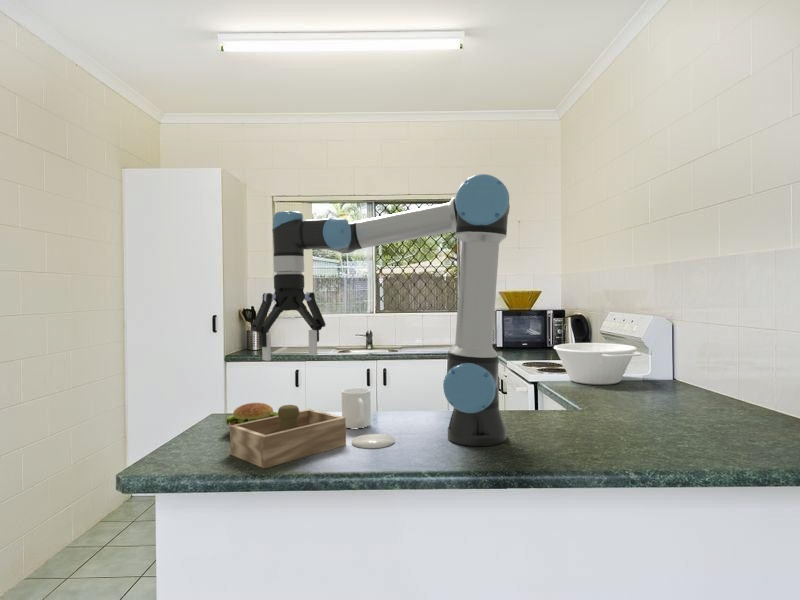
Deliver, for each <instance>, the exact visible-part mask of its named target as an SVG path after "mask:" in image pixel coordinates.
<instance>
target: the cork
mask: <svg viewBox="0 0 800 600" xmlns="http://www.w3.org/2000/svg"><path fill="white" fill-rule="evenodd" d="M299 411H300V408H299V407H298V405H295V404H286V405H281V406H280V407H279V408H278V410H277V413H278V417H279V418H280V428H279V432H281V431H285V430H289V429H293V428H297V427H298V421H297V418H298V416H299Z"/></svg>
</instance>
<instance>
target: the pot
mask: <svg viewBox="0 0 800 600" xmlns="http://www.w3.org/2000/svg"><path fill="white" fill-rule="evenodd" d="M553 349H554V350H555V351H556V353H557V354H558V357H559V360H560V361H561V363H562V365H563V367H564V369H565V371H566V374H567V375H568V378H569V380H571V381H572V382H573V383H577V384H581V385H589V386H590V385H591V386H609V385H614V384H619V383H620V382H621V381H622V378H623V377H624V375H625V372H626V370H627V368H628V366H629V364H630V362H631V361H632V358H633V357H638V356H640V357H641V356H642V353H641V352H636V351H638V348H637V347H636V346H635V345H634V346H633V345H630V344H629V345H628V344H623V343H622V344H621V343H609V342H608V343H607V342H571V343H561V344H557V345H554V346H553Z"/></svg>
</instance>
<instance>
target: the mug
mask: <svg viewBox="0 0 800 600" xmlns="http://www.w3.org/2000/svg"><path fill="white" fill-rule="evenodd" d="M371 403H372V402H371V389H369V388H366V387H365V388H364V387H353V388H352V387H350V388H344V389H342V390H341V417H345V422H346V428H363V427H367V426H369V425H370V426H371V424H372V407H371V406H372V405H371ZM370 426H369V427H370Z"/></svg>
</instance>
